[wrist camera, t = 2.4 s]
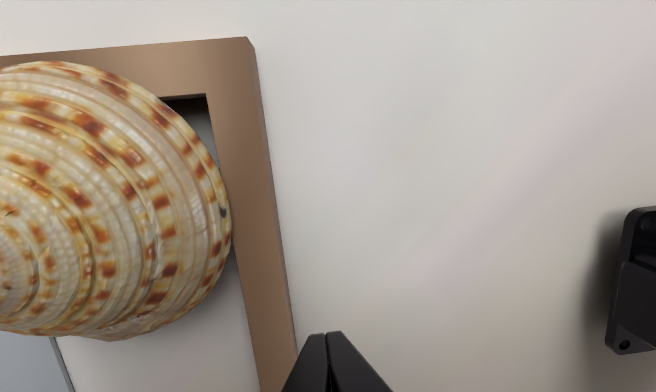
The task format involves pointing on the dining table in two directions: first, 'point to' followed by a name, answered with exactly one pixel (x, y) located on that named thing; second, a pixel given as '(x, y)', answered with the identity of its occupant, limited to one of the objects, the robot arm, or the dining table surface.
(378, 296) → the dining table surface
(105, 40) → the dining table surface
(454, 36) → the dining table surface
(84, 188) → the seashell
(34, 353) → the tray
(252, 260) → the cradle
